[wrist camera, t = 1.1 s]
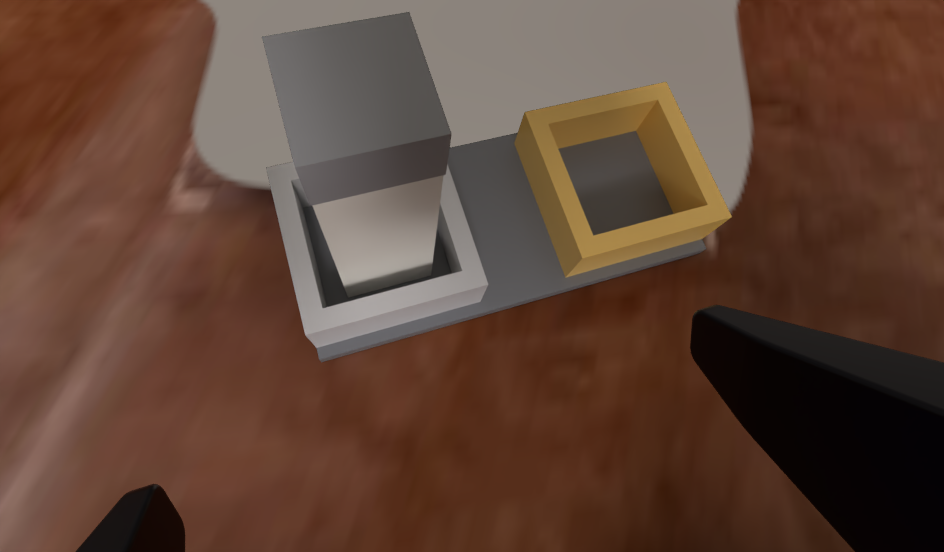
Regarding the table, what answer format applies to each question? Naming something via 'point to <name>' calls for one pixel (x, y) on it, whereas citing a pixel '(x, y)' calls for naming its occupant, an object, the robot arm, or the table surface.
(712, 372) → the robot arm
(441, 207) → the socket board
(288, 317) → the table surface
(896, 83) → the table surface
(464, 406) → the table surface
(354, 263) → the white plug
